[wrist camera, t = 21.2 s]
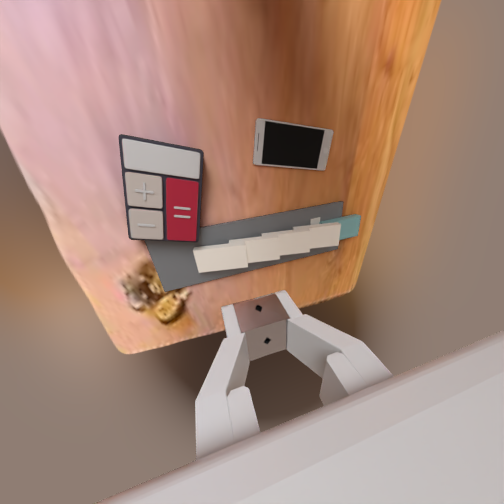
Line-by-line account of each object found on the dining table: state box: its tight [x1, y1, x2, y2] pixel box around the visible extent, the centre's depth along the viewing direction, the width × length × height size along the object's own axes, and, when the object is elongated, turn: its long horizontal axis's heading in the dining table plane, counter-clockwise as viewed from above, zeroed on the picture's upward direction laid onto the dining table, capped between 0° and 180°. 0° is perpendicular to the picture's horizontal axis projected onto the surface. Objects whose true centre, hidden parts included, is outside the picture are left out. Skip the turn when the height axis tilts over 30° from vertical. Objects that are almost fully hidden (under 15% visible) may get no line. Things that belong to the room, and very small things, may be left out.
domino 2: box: [229, 234, 280, 263], centre depth 39 cm, size 2×5×10 cm
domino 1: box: [193, 242, 248, 273], centre depth 38 cm, size 2×5×10 cm
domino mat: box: [145, 201, 343, 292], centre depth 42 cm, size 12×42×1 cm, turn 96°
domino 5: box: [319, 214, 361, 240], centre depth 45 cm, size 2×5×10 cm
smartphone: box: [253, 118, 333, 171], centre depth 36 cm, size 7×16×1 cm, turn 86°
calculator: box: [119, 134, 203, 243], centre depth 31 cm, size 11×4×15 cm
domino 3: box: [261, 228, 311, 256], centre depth 41 cm, size 2×5×10 cm
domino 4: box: [293, 222, 341, 249], centre depth 42 cm, size 2×5×10 cm
